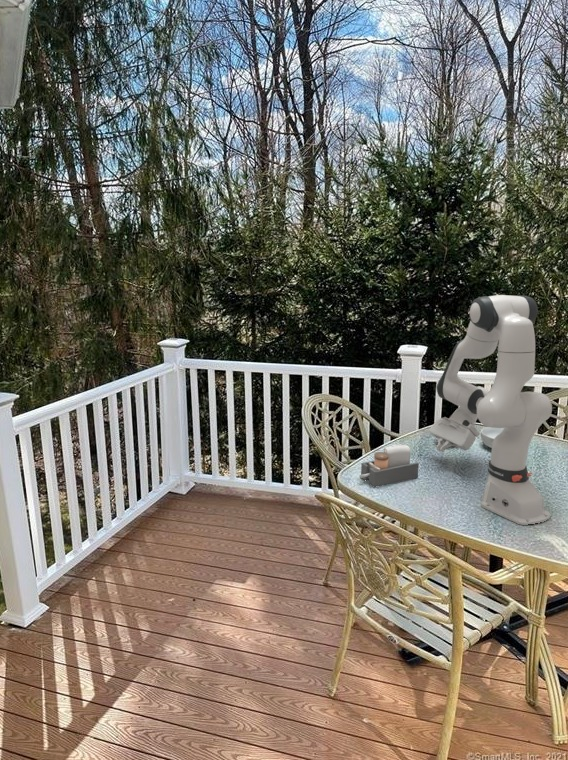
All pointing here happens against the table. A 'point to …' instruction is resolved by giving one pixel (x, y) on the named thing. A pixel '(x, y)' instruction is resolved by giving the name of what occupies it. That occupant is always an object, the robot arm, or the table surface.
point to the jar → (381, 460)
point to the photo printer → (398, 455)
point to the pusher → (369, 470)
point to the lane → (390, 474)
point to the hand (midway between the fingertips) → (439, 450)
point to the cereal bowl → (490, 435)
